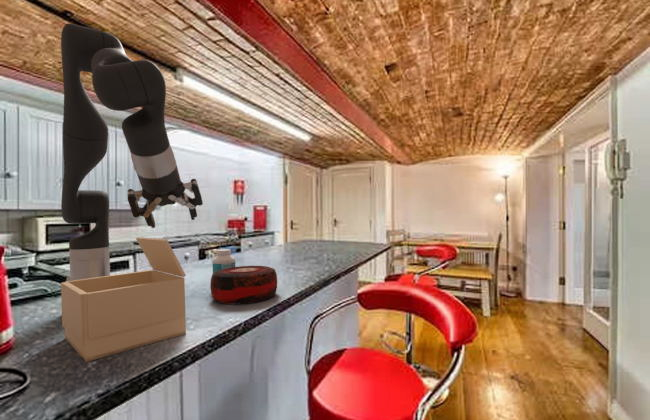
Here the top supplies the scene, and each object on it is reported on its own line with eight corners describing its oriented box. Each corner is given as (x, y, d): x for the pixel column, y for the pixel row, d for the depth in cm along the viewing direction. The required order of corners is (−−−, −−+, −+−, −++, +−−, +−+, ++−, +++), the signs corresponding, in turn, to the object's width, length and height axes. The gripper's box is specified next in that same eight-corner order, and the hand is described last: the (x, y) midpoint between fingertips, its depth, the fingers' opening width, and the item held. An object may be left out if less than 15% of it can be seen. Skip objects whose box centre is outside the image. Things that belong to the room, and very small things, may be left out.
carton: (83, 363, 60) (81, 295, 60) (61, 338, 73) (60, 282, 73) (187, 334, 74) (185, 278, 74) (153, 317, 87) (151, 269, 87)
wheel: (268, 306, 95) (284, 289, 115) (267, 275, 95) (283, 264, 115) (198, 306, 97) (226, 290, 116) (197, 276, 97) (225, 265, 117)
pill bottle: (223, 293, 111) (222, 251, 111) (208, 291, 115) (207, 250, 115) (240, 288, 117) (239, 249, 117) (225, 286, 121) (224, 248, 121)
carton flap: (164, 240, 72) (167, 239, 72) (135, 238, 83) (138, 236, 84) (183, 277, 74) (186, 275, 75) (153, 269, 86) (155, 268, 87)
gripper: (191, 149, 73) (203, 204, 85) (116, 159, 69) (139, 216, 80) (195, 170, 69) (207, 226, 80) (115, 183, 64) (140, 240, 75)
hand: (173, 221), depth 80 cm, fingers open, 8 cm apart
